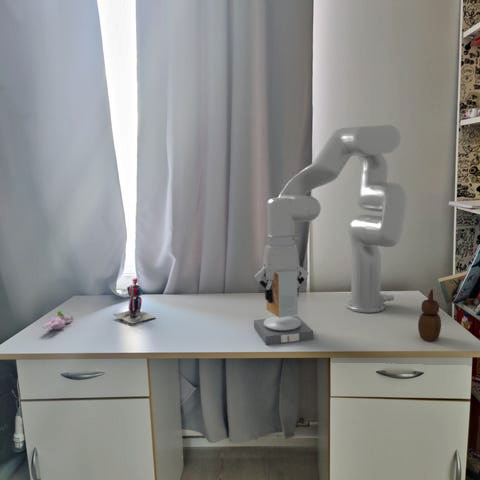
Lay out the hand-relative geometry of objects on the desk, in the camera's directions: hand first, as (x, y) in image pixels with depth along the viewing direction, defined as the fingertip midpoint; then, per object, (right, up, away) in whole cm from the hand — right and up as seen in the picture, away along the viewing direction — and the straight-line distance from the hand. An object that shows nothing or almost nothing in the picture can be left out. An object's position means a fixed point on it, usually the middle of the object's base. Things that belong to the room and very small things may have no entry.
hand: (281, 300), depth 144 cm
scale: (0, -10, +2) cm, 10 cm away
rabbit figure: (-70, -11, +13) cm, 72 cm away
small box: (0, -4, +1) cm, 4 cm away
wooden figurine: (+41, -10, -6) cm, 43 cm away
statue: (-47, -9, +19) cm, 52 cm away
